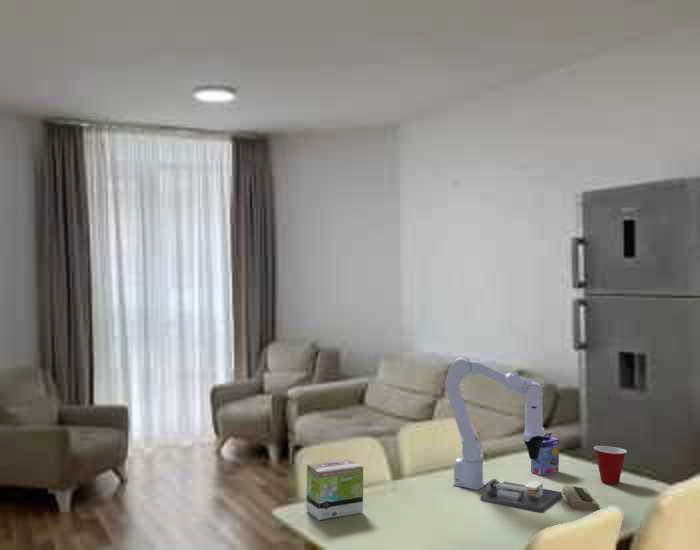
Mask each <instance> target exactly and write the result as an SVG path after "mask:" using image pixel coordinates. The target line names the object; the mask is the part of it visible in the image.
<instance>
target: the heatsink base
mask: <svg viewBox="0 0 700 550" xmlns="http://www.w3.org/2000/svg"><path fill="white" fill-rule="evenodd" d="M497 481H498V480H497V479H496V478H492V479H491V480H489V481H487V482H486V483H487V485H486V492H485V493H484V494H482V495H481V496H480V501H482V502H483V501H484V502H488V503H493V504H498V505H502V506H508V507H512V508H518V509H521V510H522V509H523V510H527V511H532V512H538V513H541V512H543V511H545V509H547V508H548V507H550V505H551V504H554V502H556V501H557V500H558V499H559V498H561V497H562V495H563V493H562V491H557V490H552V489H547V488H543V495H542V496H541V497H534V496H529V495H528V493H526V492H520V491H514V490H508V489H502V488H492V484H494V483H495V482H497ZM502 483H504V484H511V485H517V486H523V487H524V486H525V485H526V484H519V483H513V482H507V481H503V482H502Z"/></svg>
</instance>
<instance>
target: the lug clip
mask: <svg viewBox="0 0 700 550" xmlns="http://www.w3.org/2000/svg"><path fill="white" fill-rule="evenodd" d="M524 485H525V486H524V488H525V489H530V490H536V489H539V492H537V493H536V494H533V493H528V495H529V496H534V497H541V496H542V495H543V489H544V488H543V487H544V486H543V482H539V481H534V480H531V481H530V482H528V483H527V484H524Z"/></svg>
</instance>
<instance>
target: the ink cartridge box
mask: <svg viewBox="0 0 700 550" xmlns="http://www.w3.org/2000/svg"><path fill="white" fill-rule="evenodd" d="M552 434H553V433H552V432H551V433H546V435H543V437H544V440H543V442H542V445H541V448H540V452H539V456H538V458H537V459H536V460H535V459H530V473H532V474H535V475H538V476H541V477H543V476H547V475H550V474H551V475H552V474H555V473H558V472H559V469H560V468H559V466H560V464H559V463H560V439H559V438H556V437H553V436H552Z"/></svg>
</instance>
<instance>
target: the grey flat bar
mask: <svg viewBox="0 0 700 550" xmlns="http://www.w3.org/2000/svg"><path fill="white" fill-rule="evenodd" d="M492 488H502V489H508V490H514V491H520V492H526V493H533V494H536V493H537V492H539V489H536V490H530V489H525V488H524V487H523V486H517V485H511V484H504V483H503V482H500V481H498V480H497V482H495V483H494V484H492Z"/></svg>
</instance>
